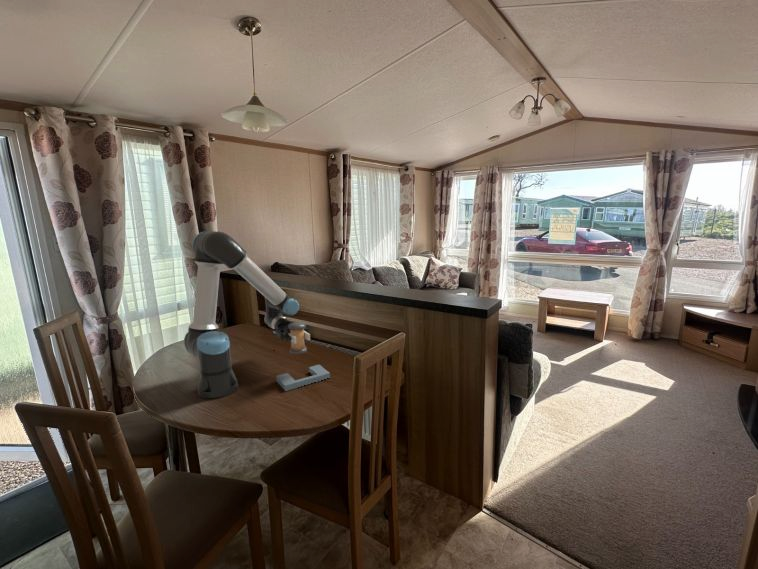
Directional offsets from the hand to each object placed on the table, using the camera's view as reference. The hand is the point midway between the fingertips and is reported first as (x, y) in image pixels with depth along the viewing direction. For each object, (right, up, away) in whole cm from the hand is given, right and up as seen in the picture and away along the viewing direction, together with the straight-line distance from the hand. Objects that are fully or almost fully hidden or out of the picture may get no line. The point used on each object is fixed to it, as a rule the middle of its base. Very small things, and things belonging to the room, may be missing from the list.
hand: (302, 338), depth 150 cm
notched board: (-1, -18, +4) cm, 19 cm away
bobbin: (-3, -6, +6) cm, 9 cm away
